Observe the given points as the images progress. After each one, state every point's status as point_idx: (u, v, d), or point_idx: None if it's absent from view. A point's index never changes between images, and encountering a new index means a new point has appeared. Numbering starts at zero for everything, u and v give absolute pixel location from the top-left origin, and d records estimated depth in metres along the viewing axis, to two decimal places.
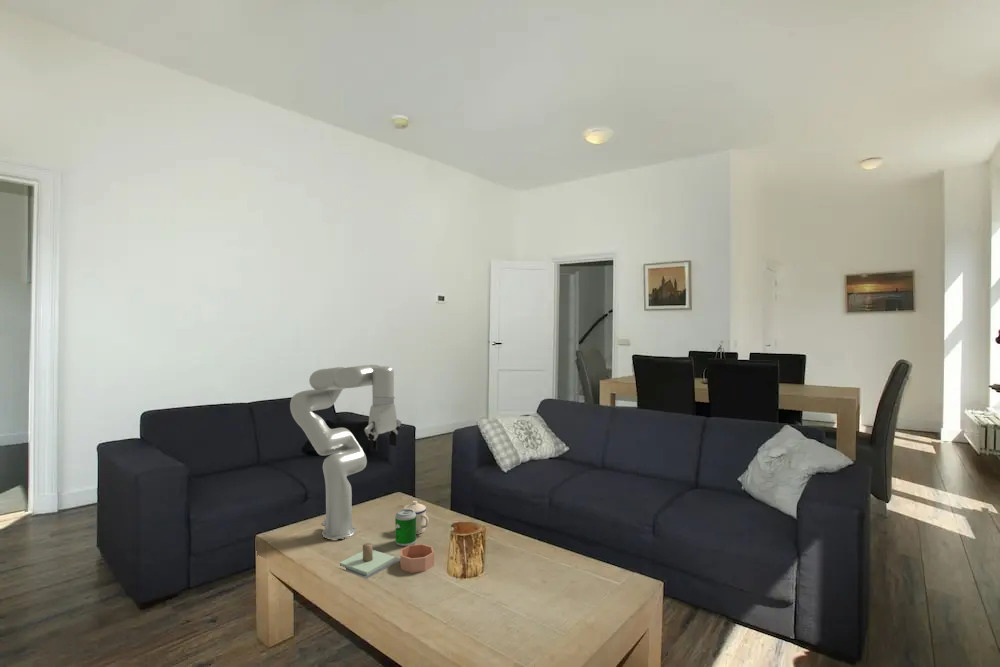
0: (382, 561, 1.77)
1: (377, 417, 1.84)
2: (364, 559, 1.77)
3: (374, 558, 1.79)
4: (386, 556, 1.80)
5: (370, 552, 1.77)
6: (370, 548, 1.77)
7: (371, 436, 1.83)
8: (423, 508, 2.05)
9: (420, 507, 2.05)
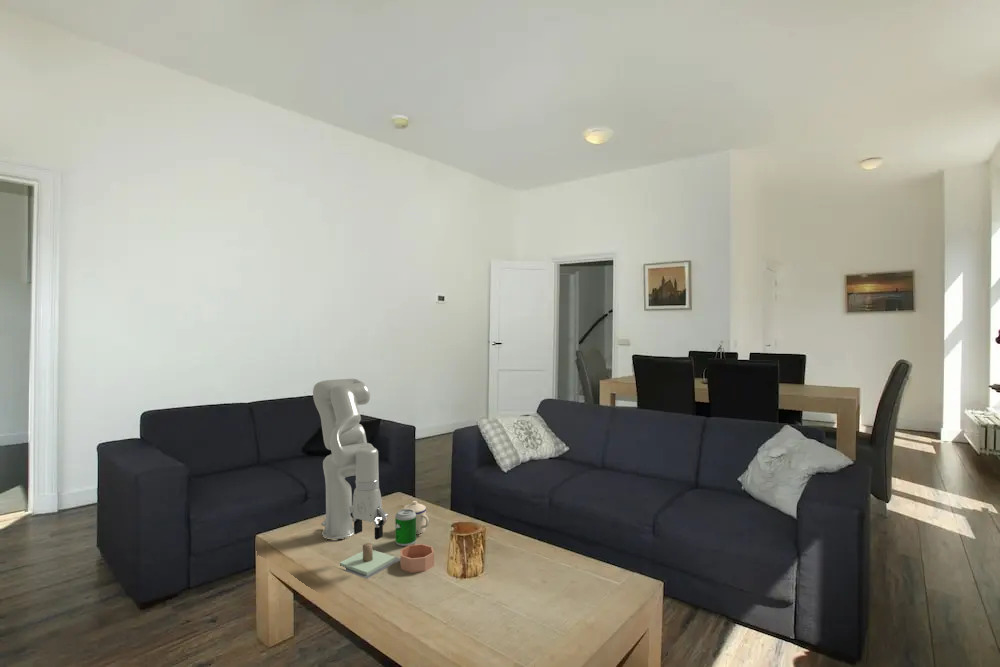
0: (382, 561, 1.77)
1: (381, 500, 1.76)
2: (364, 559, 1.77)
3: (374, 558, 1.79)
4: (386, 556, 1.80)
5: (370, 552, 1.77)
6: (370, 548, 1.77)
7: None
8: (423, 508, 2.05)
9: (420, 507, 2.05)
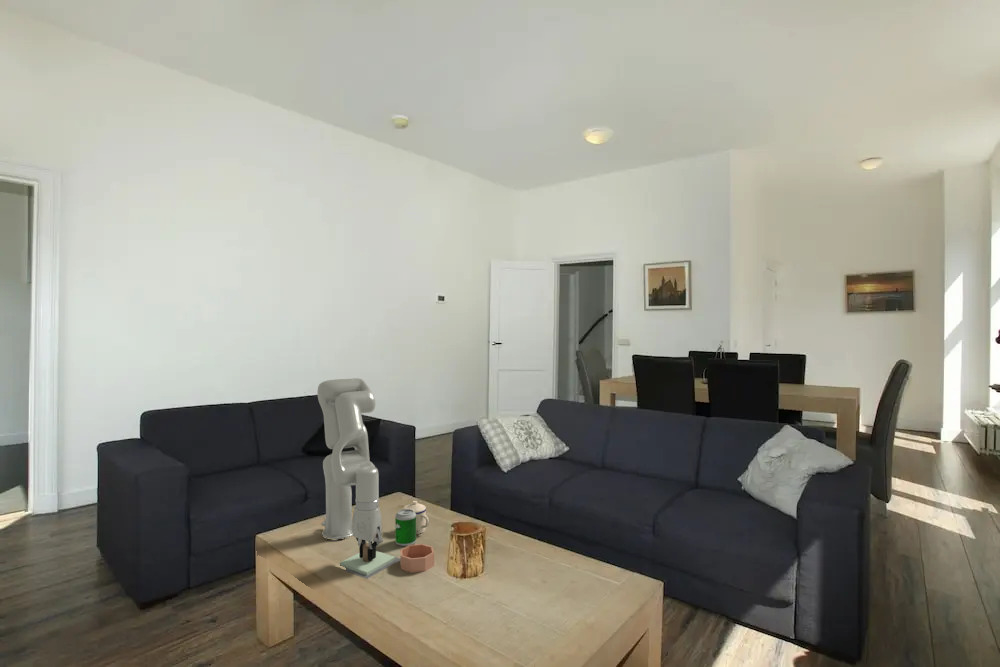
0: (382, 561, 1.77)
1: None
2: (364, 559, 1.77)
3: (374, 558, 1.79)
4: (386, 556, 1.80)
5: None
6: None
7: None
8: (423, 508, 2.05)
9: (420, 507, 2.05)
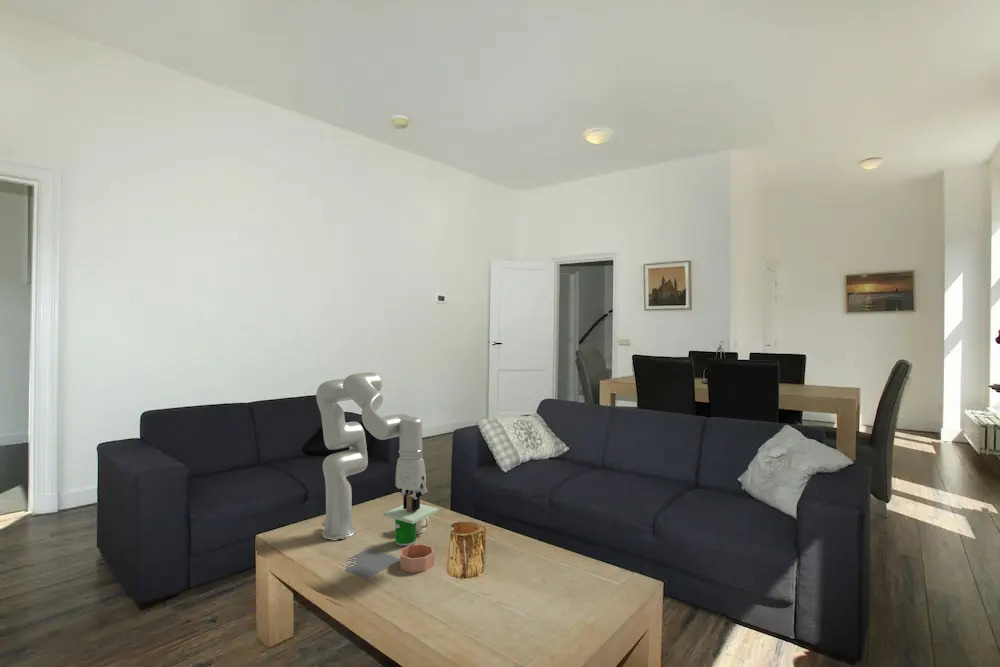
0: (426, 511, 1.75)
1: None
2: (408, 510, 1.75)
3: (418, 509, 1.77)
4: (430, 508, 1.79)
5: None
6: None
7: None
8: None
9: None
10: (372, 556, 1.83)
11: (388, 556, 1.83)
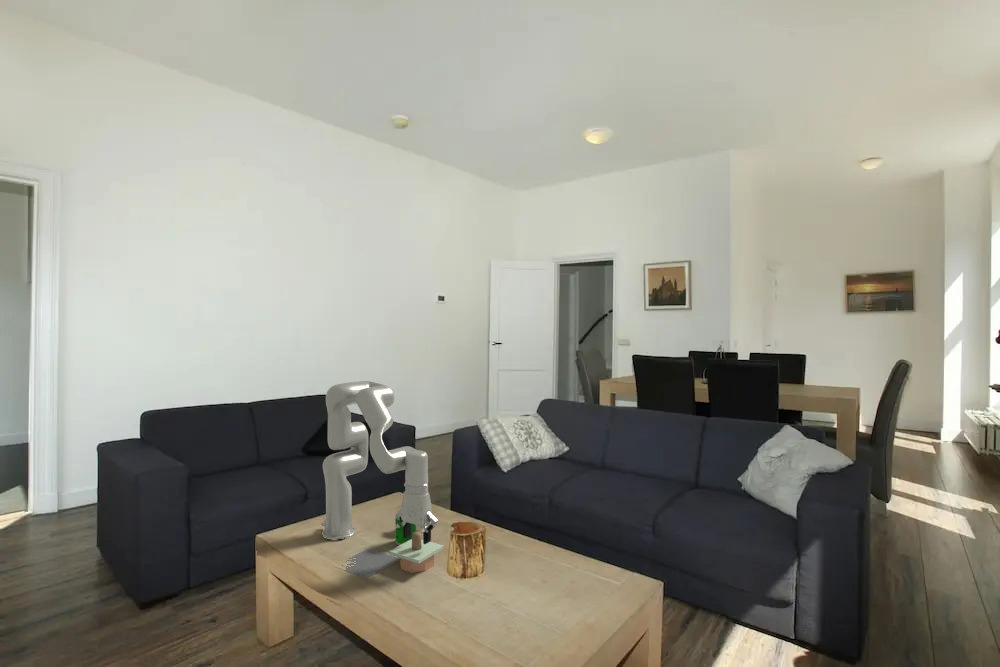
0: (431, 549, 1.76)
1: (430, 504, 1.75)
2: (413, 548, 1.75)
3: (423, 547, 1.78)
4: (435, 545, 1.79)
5: (419, 540, 1.76)
6: (419, 536, 1.76)
7: None
8: None
9: None
10: (372, 556, 1.83)
11: (388, 556, 1.83)
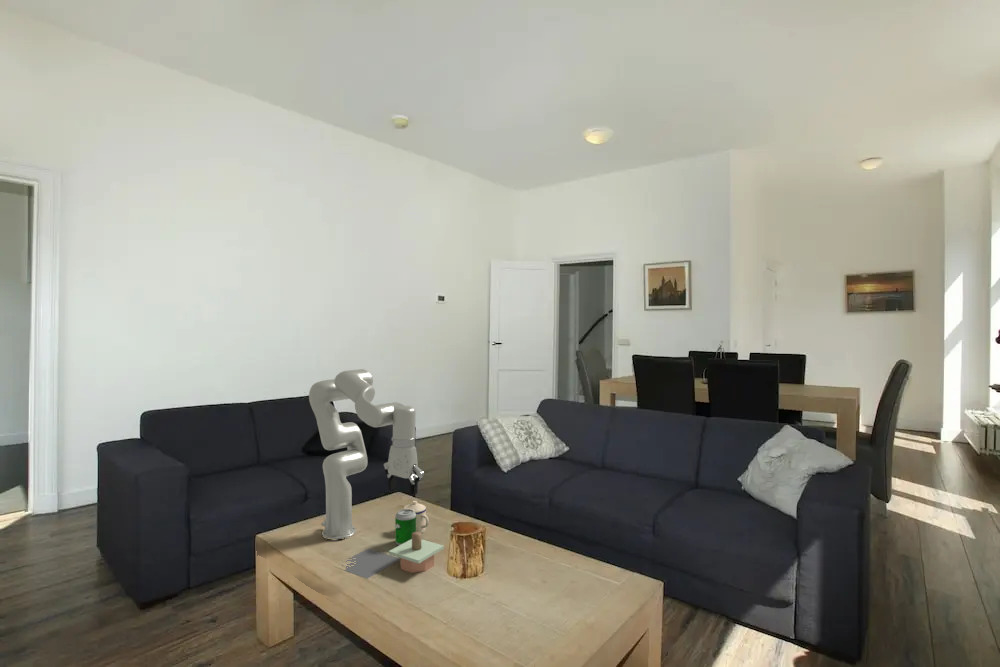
0: (431, 549, 1.76)
1: None
2: (413, 548, 1.75)
3: (423, 547, 1.78)
4: (435, 545, 1.79)
5: (419, 540, 1.76)
6: (419, 536, 1.76)
7: None
8: (423, 508, 2.05)
9: (420, 507, 2.05)
10: (372, 556, 1.83)
11: (388, 556, 1.83)
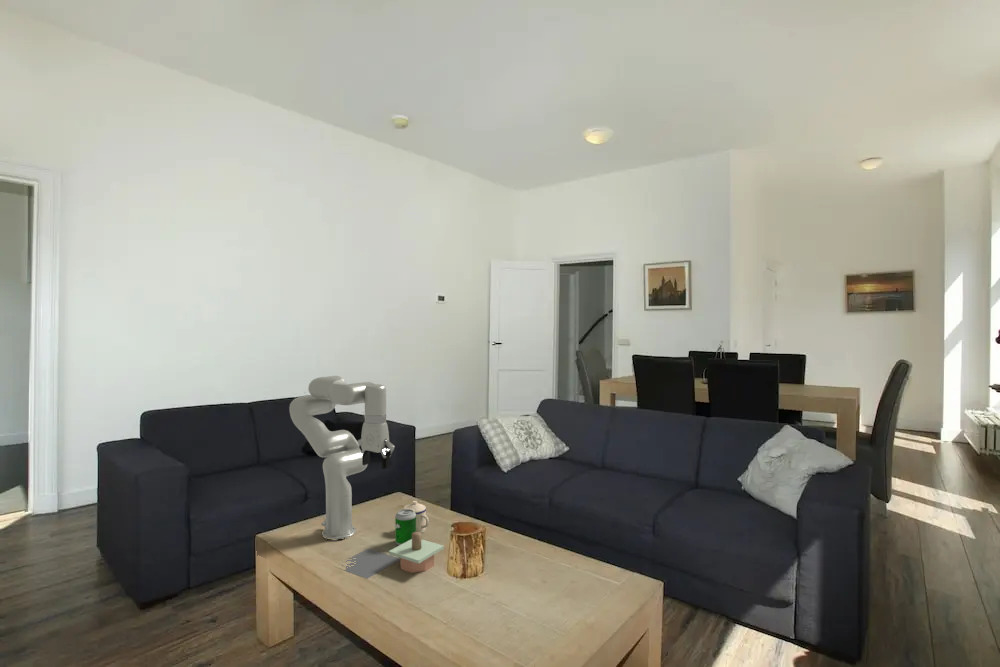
0: (431, 549, 1.76)
1: (388, 433, 1.88)
2: (413, 548, 1.75)
3: (423, 547, 1.78)
4: (435, 545, 1.79)
5: (419, 540, 1.76)
6: (419, 536, 1.76)
7: None
8: (423, 508, 2.05)
9: (420, 507, 2.05)
10: (372, 556, 1.83)
11: (388, 556, 1.83)
